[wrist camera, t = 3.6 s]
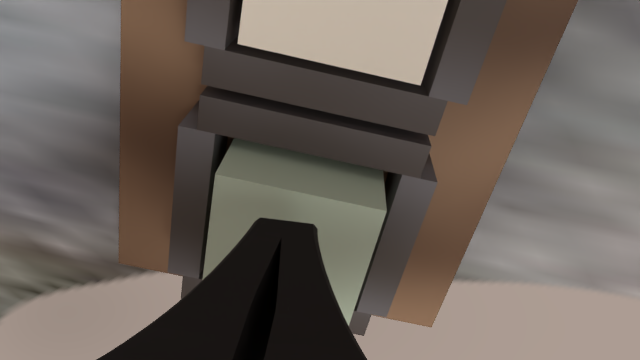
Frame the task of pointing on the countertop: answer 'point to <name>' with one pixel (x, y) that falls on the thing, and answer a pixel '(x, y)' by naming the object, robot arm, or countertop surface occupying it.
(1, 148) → the countertop surface
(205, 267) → the sage button
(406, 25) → the cream button
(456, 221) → the button panel
